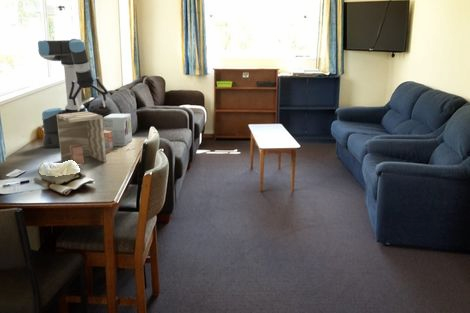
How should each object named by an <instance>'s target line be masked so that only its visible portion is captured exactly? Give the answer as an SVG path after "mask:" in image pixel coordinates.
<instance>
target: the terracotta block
mask: <svg viewBox="0 0 470 313" xmlns="http://www.w3.org/2000/svg"><path fill="white" fill-rule="evenodd" d="M70 155H71V159H70V161H71V160H73V161H75V162H76V163H77V164H81V165H84V164H85V162H84V161H85V160H84V157H83V148H82V146H81V145H79V144H78V145H71V146H70Z"/></svg>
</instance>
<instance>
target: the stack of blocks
mask: <svg viewBox="0 0 470 313" xmlns="http://www.w3.org/2000/svg"><path fill="white" fill-rule="evenodd" d="M104 140H105V153H111V152H113V151H114V146H113V136H112V131H107V130H104Z"/></svg>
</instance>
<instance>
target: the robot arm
mask: <svg viewBox="0 0 470 313" xmlns="http://www.w3.org/2000/svg"><path fill="white" fill-rule="evenodd" d="M37 47H38V48H37V49H38V50H37V51H38V55H40V57H41V58H43V59H44V60H47V61H52V62H60V64H61V65H62V66H63V68H64V69H63V70H64V79H65V91H66V92H65V93H66V101H67V104H65V108H64V109H62V108H61V107H54V108H49V109H45V110H43V111H42V113H41V114H42V115H41V116H42V118H41V120H42V124H43V125H42V126H43V132H44V133H43V134H44V135H43V139H42V143H41V145H42V148H44V149H57V148H58V149H60V143H59V134H58V124H57V115H59V114H68V113H78V112H88V108H86V107H85V105H84V104H83V103H82V102H83V101H82V88H83V89H87V88H88V89H90V88H93V89H94V90H95V91H96V92H98V93H99V94H100V96H101V102H102V105H103V106H102V107H103V108H106V101H107V99H106V98H107V97H106V95H107V94H109V91H108V89H107V88H106V87H105V85H104V84H103V83H102V82H101V80H100V78H99V76H96V77H94V78H93V75H92V71H91V66H90V62H89V59H88V58H89V57H88V54H87V49H86V48H87V47H86V44H85V41H84V40H83V39H79V38H71V39H70V40H68V39H65V40H46V39H45V40H38V42H37ZM94 82H95V83H97V85H98V86H97V85H96V84H95V83H94Z"/></svg>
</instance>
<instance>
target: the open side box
mask: <svg viewBox="0 0 470 313" xmlns="http://www.w3.org/2000/svg"><path fill="white" fill-rule="evenodd" d="M103 118H104V117H103V115H101V114H98V113H95V112H90V111H87V112H78V113H68V114H59V115H57V124H58V134H59V143H60V147H59V151H60V152H59V153H60V160H61V161H68V160H67V159H69V160H71V155H70V146H71V145H78V144H79V145H81V146H82V148H83V158H86V157H85V156H87V157H91V158H93V157H94V159H95V160H97V161H100V162H102V163H107V156H106V155H107V154H106V152H105V140H104V122H103Z"/></svg>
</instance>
